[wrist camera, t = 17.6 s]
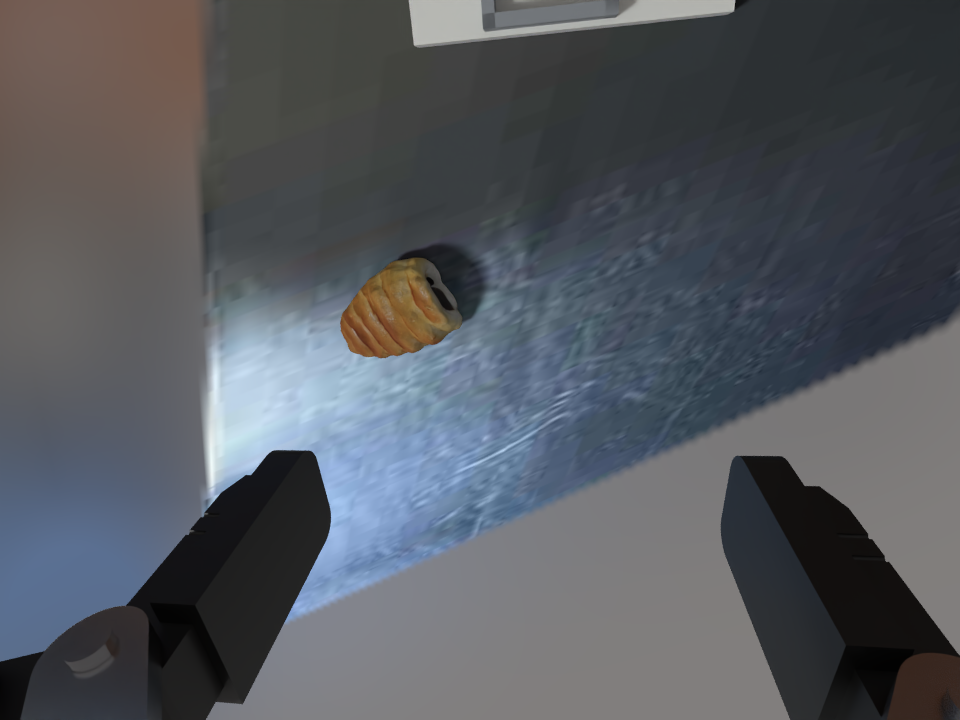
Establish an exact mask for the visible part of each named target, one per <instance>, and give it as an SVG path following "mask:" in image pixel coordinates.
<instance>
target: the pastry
mask: <svg viewBox="0 0 960 720" xmlns="http://www.w3.org/2000/svg"><path fill="white" fill-rule="evenodd" d="M340 324H341V332H342V334H343V336H344V338H345V340H346V342H347V343H348V347H349V349H350V351H351V352H353V353H356V354H360V355H362V356H365V357H373V356H375V357H378V358H386V357H388V356H391V355H395V356H400V355H402V354H404V353H407V352H410V353H414V352H417V351H419V350H421V349H422V348H423V347H424V346H426V345H428V344H431V345H434V344H437V343H439V342H441V341H442V340H443V339H444V338H445V336H446V335H447V334H449V333H450V332H452V331H453V330H456V329H459V328H460V327H461V325H462V316H461V315H460V313H459V311H458V310H457V302H456V300H455V298H454V296H453V294H452V293H450V291H449V290H448V288H447V287H446V286H445V285H444V284H443V283H442V281H441V276H440V274H439V271H438V270H437V269H436V267H435V266H434V264H433V263H431V262H430V261H428V260H427V259H424V258H410V259H406V260H398V261H394V262H392V263H390V264H389V265H388V266H387V267H386V268H385V269H383V270H382V271H380V272H379V273H378V274H377V275H375V276H373V277H372V278H370V279H369V280H368V281H367V283H366V284H365V285H364V286H363V287H362V288H361V289H360V291H359V292H358V294H357V295H356V296H355V297H354V299H353V300H352V302H351V303H350V305H349V306H348V307H347V309H346V310H345V311H344V312H343V314H342V317H341V322H340Z"/></svg>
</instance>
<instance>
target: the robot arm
mask: <svg viewBox="0 0 960 720" xmlns="http://www.w3.org/2000/svg"><path fill="white" fill-rule="evenodd" d="M330 523H331V511H330V506H329V502H328V499H327V495H326V491H325V488H324V484H323V480H322V477H321V473H320V469H319V466H318V462H317V459H316V456H315V455H314V453H313V452H311V451H295V450H274V451H272V452H270V453H269V454H268V455H267V456H266V457H265V459H264V460H263V461H262V462H261V464H260V465H259V466H258V467H257V469H256V470H255V471H254V472H253V474H252V475H245V476H244V477H243V478H241V479H240V480H238V481H237V482H236V483H234V484H233V485H231V486H230V487H229V488H227V489H226V490H224V491H223V492H222V493H221V494H220V495H219V496H218V497H217V499H216V500H215V501H214V502H213V503H212V504H211V506H210V507H209V508H208V509H207V510H206V512H205V513H204V517H201V518H200V519H199V520H198V521H197V522H196V523H195V525H194V526H193V527H192V528H191V530H190V533H189V535H185V537H184V538H183V539H182V540H181V541H180V542H179V544H178V545H177V546H176V547H175V548H174V550H173V551H172V552H171V553H170V554H169V556H168V557H167V558H166V559H165V560H164V561H163V563H162V564H161V565H160V566H159V567H158V568H157V570H156V571H155V572H154V573H153V575H152V576H151V577H150V578H149V579H148V580H147V582H146V583H145V584H144V585H143V586H142V587H141V589H140V590H139V591H138V592H137V593H136V595H135V596H134V597H133V598H132V599H131V601H130V602H129V603H128V604H127V605H126V606H118V607H113V608H109V609H105V610H103V611H100V612H97V613H95V614H93V615H91V616H89V617H87V618H85V619H83V620H81V621H80V622H78V623H76V624H75V625H73V626H72V627H71V628H69V629H68V630H66V631H65V632H64V633H63V634H62V635H60V636H59V637H58V638H57V639H56V640H55V641H54V642H53V643H52V644H51V645H50V646H49V647H48V648H47V649H46V650H45V651H43V652H39V653H35V654H31V655H27V656H22V657H18V658H14V659H10V660H6V661H1V662H0V720H206V718H207V716H208V715H209V713H210V711H211V709H212V707H213V706H214V704H215V702H224V703H237V704H243V703H244V701H245V699H246V696H247V695H248V693H249V691H250V689H251V687H252V685H253V683H254V681H255V679H256V677H257V675H258V673H259V671H260V669H261V667H262V665H263V663H264V661H265V659H266V657H267V655H268V653H269V651H270V650H271V648H272V645H273V644H274V642H275V640H276V638H277V636H278V634H279V632H280V630H281V628H282V626H283V624H284V622H285V620H286V618H287V616H288V614H289V612H290V610H291V608H292V606H293V604H294V602H295V601H296V599H297V597H298V595H299V593H300V591H301V589H302V587H303V585H304V583H305V581H306V579H307V577H308V575H309V573H310V571H311V569H312V567H313V565H314V563H315V561H316V559H317V557H318V555H319V553H320V551H321V550H322V548H323V546H324V544H325V542H326V539H327V537H328V534H329V530H330ZM721 537H722V544H723V549H724V553H725V555H726V558H727V561H728V564H729V566H730V569H731V571H732V573H733V576H734V579H735V581H736V584H737V586H738V589H739V591H740V594H741V596H742V599H743V601H744V604H745V606H746V609H747V612H748V614H749V616H750V619H751V621H752V624H753V627H754V629H755V632H756V634H757V636H758V639H759V642H760V644H761V647H762V649H763V652H764V654H765V657H766V659H767V662H768V665H769V667H770V670H771V672H772V675H773V677H774V679H775V682H776V685H777V687H778V690H779V692H780V695H781V697H782V700H783V702H784V705H785V707H786V710H787V712H788V715H789V718H790V720H960V655H959V654H958V653H957V652H956V651H955V649H954V648H953V647H952V645H951V644H950V643H949V641H948V640H947V639H946V637H945V636H944V635H943V633H942V632H941V631H940V629H939V628H938V627H937V625H936V624H935V623H934V621H933V620H932V619H931V617H930V616H929V615H928V614H927V612H926V611H925V609H924V608H923V607H922V605H921V604H920V603H919V601H918V600H917V599H916V597H915V596H914V595H913V593H912V592H911V591H910V589H909V588H908V587H907V585H906V584H905V583H904V581H903V580H902V579H901V577H900V576H899V575H898V573H897V572H896V571H895V569H894V568H893V567H892V565H891V564H890V563H889V562H886V561H885V556H884V555H883V553H882V552H881V551H880V549H879V548H878V547H877V545H876V544H875V543H874V541H873V540H872V539H869V538H868V533H867V532H866V531H865V529H864V528H863V527H862V525H861V524H860V523H859V521H858V520H857V519H856V517H855V516H854V515H853V513H852V512H851V511H850V510H849V508H848V507H846V506H845V505H844V504H842V503H841V502H840V501H838V500H837V499H836V498H834V497H833V496H832V495H830V494H829V493H827V492H826V491H825V490H823V489H822V488H821V487H819V486H804V485H803V483H802V482H801V480H800V479H799V477H798V476H797V474H796V473H795V471H794V470H793V468H792V467H791V465H790V464H789V462H788V461H787V460H786V459H785V458H783V457H781V456H736V457H735V458H734V459H733V460H732V464H731V467H730V473H729V479H728V484H727V490H726V496H725V501H724V508H723V513H722V518H721Z"/></svg>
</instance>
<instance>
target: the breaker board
mask: <svg viewBox="0 0 960 720" xmlns="http://www.w3.org/2000/svg"><path fill="white" fill-rule="evenodd" d="M409 5H410V14H411V22H412V31H413V40H414V46H416V47H418V48H421V47H430V46H439V45H449V44H458V43H468V42H477V41H486V40H496V39H505V38H514V37H524V36H533V35H542V34H552V33H561V32H570V31H580V30H589V29H598V28H608V27H617V26H626V25H636V24H645V23H654V22H664V21H673V20H683V19H692V18H701V17H711V16H720V15H728V14H730V13H731V12H733V11H734V7H735V0H409Z"/></svg>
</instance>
